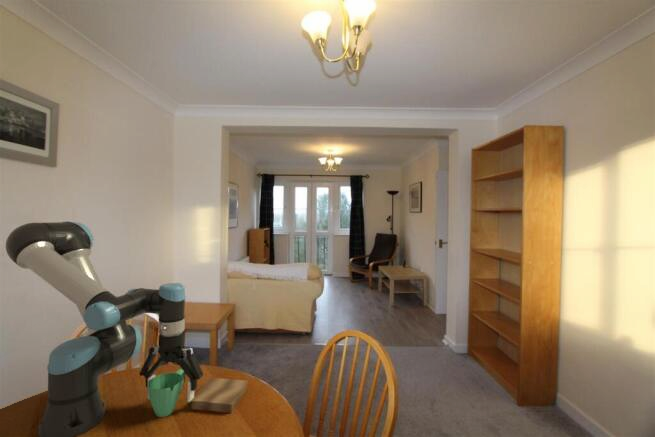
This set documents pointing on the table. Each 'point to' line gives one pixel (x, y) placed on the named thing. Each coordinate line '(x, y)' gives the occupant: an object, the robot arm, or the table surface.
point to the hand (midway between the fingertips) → (171, 398)
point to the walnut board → (219, 395)
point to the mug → (165, 391)
